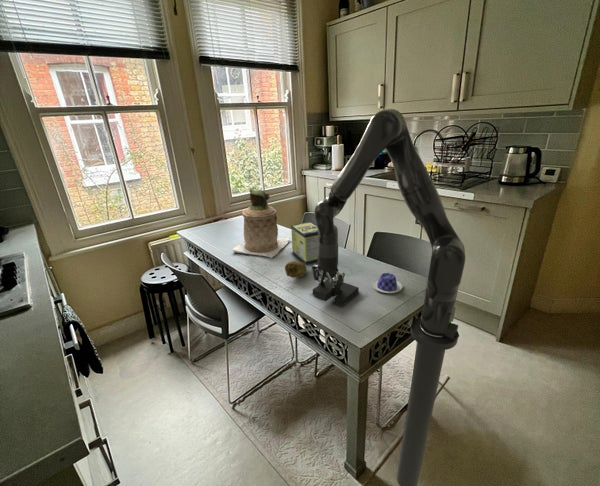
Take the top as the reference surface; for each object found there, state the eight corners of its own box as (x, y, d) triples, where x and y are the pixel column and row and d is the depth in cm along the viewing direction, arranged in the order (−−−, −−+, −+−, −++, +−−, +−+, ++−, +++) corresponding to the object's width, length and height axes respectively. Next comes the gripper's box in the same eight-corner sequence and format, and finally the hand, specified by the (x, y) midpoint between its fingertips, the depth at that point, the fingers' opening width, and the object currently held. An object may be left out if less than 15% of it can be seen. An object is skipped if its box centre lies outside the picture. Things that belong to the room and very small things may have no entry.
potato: (314, 274, 142) (313, 258, 139) (292, 284, 135) (291, 267, 131) (301, 268, 148) (301, 253, 145) (280, 277, 140) (279, 261, 137)
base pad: (358, 292, 127) (358, 287, 126) (342, 306, 119) (342, 300, 118) (329, 282, 135) (329, 277, 134) (312, 294, 127) (312, 289, 126)
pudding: (391, 298, 123) (392, 286, 121) (366, 287, 131) (367, 275, 129) (407, 286, 130) (409, 275, 128) (382, 277, 138) (383, 266, 136)
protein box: (309, 249, 168) (309, 221, 162) (324, 260, 155) (324, 230, 149) (292, 253, 164) (290, 225, 158) (305, 264, 151) (304, 234, 145)
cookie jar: (274, 258, 159) (269, 196, 145) (231, 253, 166) (222, 193, 152) (290, 240, 180) (288, 184, 166) (251, 237, 187) (246, 182, 174)
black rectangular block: (340, 290, 124) (340, 283, 123) (325, 301, 117) (325, 294, 116) (330, 286, 127) (330, 280, 126) (314, 297, 120) (314, 290, 119)
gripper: (350, 254, 113) (348, 294, 120) (318, 245, 122) (318, 283, 129) (338, 261, 108) (338, 303, 115) (306, 251, 116) (307, 291, 124)
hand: (327, 292), depth 122 cm, fingers closed on black rectangular block, 5 cm apart
